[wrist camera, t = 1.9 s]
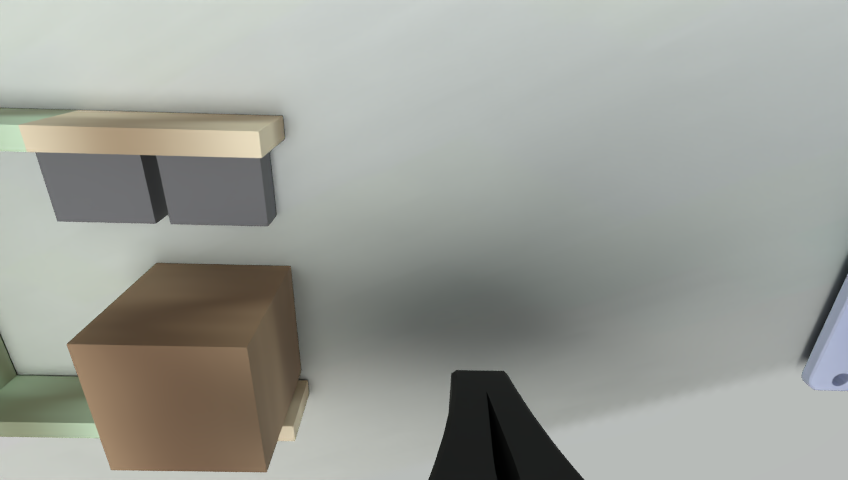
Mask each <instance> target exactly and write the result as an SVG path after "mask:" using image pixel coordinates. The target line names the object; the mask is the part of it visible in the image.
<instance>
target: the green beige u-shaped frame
mask: <svg viewBox="0 0 848 480" xmlns="http://www.w3.org/2000/svg"><path fill="white" fill-rule="evenodd" d="M284 139H285V135H284V124H283V116H271V115H236V114H200V113H165V112H130V111H94V110H59V109H23V108H0V151H11V152H49V153H87V154H124V155H162V156H200V157H238V158H263V157H264V156H265V155H266V154H267V153H269V152H270V151H271V150H272V149H273V148H275V147H276V146H277V145H278V144H279V143H280V142H282V141H283V140H284ZM308 396H309V389H308V381H307V380H298V382H297V385H296V388H295V391H294V394H293V397H292V400H291V403H290V406H289V409H288V412H287V414H286V417H285V420H284V423H283V426H282V429H281V432H280V435H279V438H278V441H295V439H296V436H297V432H298V429H299V426H300V422H301V419H302V416H303V413H304V409H305V406H306V403H307V399H308ZM0 437H56V438H100V437H99V434H98V431H97V428H96V426H95V423H94V420H93V417H92V414H91V411H90V409H89V406H88V403H87V400H86V397H85V395H84V392H83V389H82V386H81V383H80V381H79V378H78V377H77V376H19V375H16V372H15V370H14V368H13V365H12V363H11V360H10V358H9V356H8V353H7V351H6V349H5V346H4V344H3V341H2V339H1V337H0Z"/></svg>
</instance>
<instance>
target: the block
mask: <svg viewBox="0 0 848 480" xmlns="http://www.w3.org/2000/svg"><path fill="white" fill-rule="evenodd" d="M67 347H68V350H69V352H70V355H71V358H72V361H73V364H74V366H75V369H76V372H77V375H78V378H79V381H80V383H81V386H82V389H83V392H84V395H85V397H86V400H87V403H88V406H89V409H90V411H91V414H92V417H93V420H94V423H95V426H96V428H97V431H98V434H99V437H100V440H101V442H102V445H103V448H104V451H105V454H106V457H107V459H108V462H109V465H110V468H111V470H141V471H213V472H267V470H268V467H269V464H270V461H271V458H272V455H273V452H274V449H275V446H276V444H277V441H278V438H279V435H280V432H281V429H282V426H283V423H284V420H285V417H286V414H287V412H288V409H289V406H290V403H291V400H292V397H293V394H294V391H295V388H296V385H297V382H298V379H299V377H300V374H301V363H300V353H299V343H298V333H297V323H296V313H295V304H294V294H293V284H292V274H291V266H269V265H223V264H178V263H156V264H155V265H154V266H153V267H152V268H150V269H149V270H148V271H147V272H146V273H145V274H144V275H143V276H142V277H140V278H139V279H138V280H137V281H136V282H135V283H134V284H133V285H132V286H130V287H129V288H128V289H127V290H126V291H125V292H124V293H123V294H122V295H120V296H119V297H118V298H117V299H116V300H115V301H114V302H113V303H112V304H111V305H109V306H108V307H107V308H106V309H105V310H104V311H103V312H102V313H101V314H99V315H98V316H97V317H96V318H95V319H94V320H93V321H92V322H91V323H89V324H88V325H87V326H86V327H85V328H84V329H83V330H82V331H81V332H79V333H78V334H77V335H76V336H75V337H74V338H73V339H72V340H71V341H70V342H68V343H67Z"/></svg>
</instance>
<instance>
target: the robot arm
mask: <svg viewBox="0 0 848 480" xmlns="http://www.w3.org/2000/svg"><path fill="white" fill-rule="evenodd" d="M802 379H803V381H804V382H805V383H806V384H807V385H808V386H810V387H811V388H812V389H814V390H832V391H833V390H834V391H837V390H838V391H848V274H847V276H846V279H845V281H844V283H843V285H842V287H841V289H840V292H839V294H838V296H837V298H836V300H835V302H834V305H833V307H832V309H831V311H830V313H829V315H828V318H827V320H826V322H825V324H824V326H823V328H822V331H821V333H820V335H819V337H818V339H817V341H816V344H815V346H814V348H813V350H812V352H811V354H810V357H809V359H808V361H807V363H806V365H805V367H804V370H803V372H802ZM429 480H584V479H583V478H582V477H581V475H580V474H579V473H578V472H577V471H576V470H575V469H574V468H573V466H572V465H571V464H570V463H569V461H568V460H567V459H566V458H565V456H564V455H563V454H562V453H561V452H560V450H559V449H558V448H557V447H556V445H555V444H554V443H553V441H552V440H551V439H550V437H549V436H548V435H547V433H546V432H545V430H544V429H543V428H542V426H541V425H540V424H539V422H538V421H537V420H536V418H535V417H534V415H533V414H532V412H531V411H530V409H529V408H528V407H527V405H526V404H525V402H524V401H523V399H522V397H521V396H520V394H519V393H518V391H517V390H516V388H515V386H514V385H513V383H512V381H511V380H510V378H509V376H508V375H507V374H506V373H505V372H504V371H468V370H456V371H455V372H453V373H452V374H451V387H450V402H449V414H448V418H447V423H446V427H445V431H444V435H443V438H442V442H441V445H440V448H439V451H438V454H437V457H436V460H435V463H434V466H433V469H432V472H431V474H430V477H429Z"/></svg>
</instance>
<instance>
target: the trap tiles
mask: <svg viewBox="0 0 848 480" xmlns="http://www.w3.org/2000/svg"><path fill="white" fill-rule="evenodd" d="M35 153H36V156H37V159H38V162H39V165H40V168H41V171H42V175H43V178H44V181H45V184H46V187H47V190H48V193H49V196H50V200H51V203H52V206H53V209H54V212H55V215H56V218H57V221H65V222H107V223H150V224H156V223H157V222H159V221H160V220H161V219H163V218H164V217H165V216H167V215H168V214H169V218H170V223H171V224H192V225H234V226H269V224H270V223H271V222H272V220H273V219H274V218H275V216H276V208H275V199H274V190H273V181H272V171H271V162H270V153H267V154H266V155H265V156H264V157H263V158H238V157H200V156H162V155H124V154H87V153H49V152H35Z"/></svg>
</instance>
